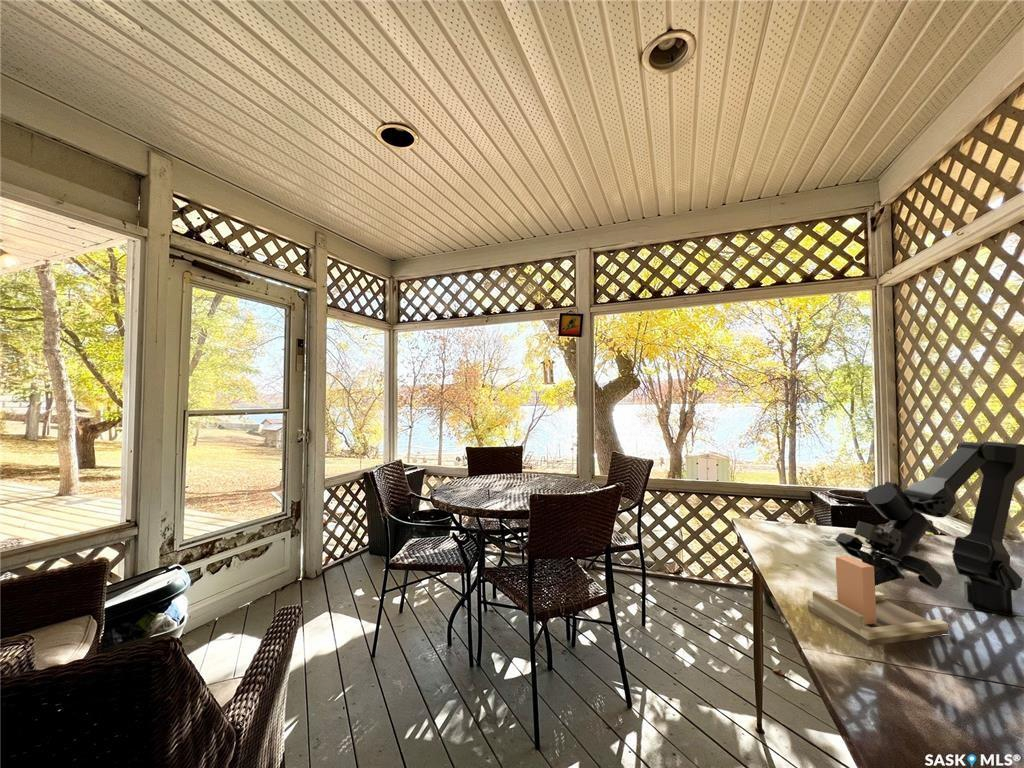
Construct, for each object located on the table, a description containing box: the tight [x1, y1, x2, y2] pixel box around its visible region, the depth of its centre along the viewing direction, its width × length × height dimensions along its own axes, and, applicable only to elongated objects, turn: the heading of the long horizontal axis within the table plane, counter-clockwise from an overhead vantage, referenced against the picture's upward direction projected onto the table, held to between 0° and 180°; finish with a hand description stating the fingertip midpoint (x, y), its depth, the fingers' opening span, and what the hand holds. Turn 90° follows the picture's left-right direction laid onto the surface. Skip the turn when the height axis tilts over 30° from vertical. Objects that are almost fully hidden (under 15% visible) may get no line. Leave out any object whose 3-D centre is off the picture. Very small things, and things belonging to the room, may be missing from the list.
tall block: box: [835, 555, 877, 625], centre depth 89 cm, size 3×6×12 cm, turn 9°
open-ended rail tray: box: [807, 590, 949, 647], centre depth 90 cm, size 20×14×5 cm
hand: (862, 587), depth 90 cm, fingers closed, pressing on tall block
